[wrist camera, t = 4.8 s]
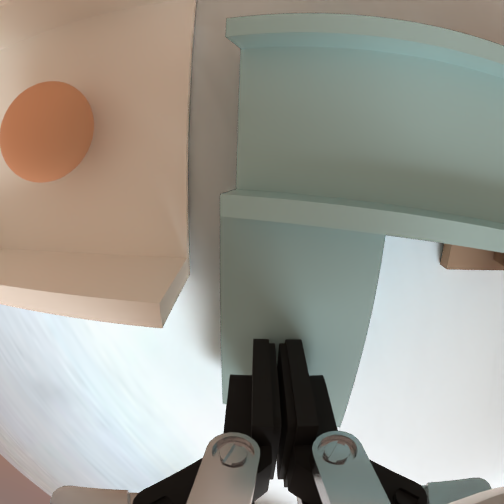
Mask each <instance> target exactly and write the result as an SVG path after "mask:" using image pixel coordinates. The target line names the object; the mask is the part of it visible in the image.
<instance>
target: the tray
mask: <svg viewBox="0 0 504 504" xmlns="http://www.w3.org/2000/svg"><path fill="white" fill-rule="evenodd" d="M195 11H196V0H0V128H1V123H2V120H3V118H4V115H5V113H6V111H7V109H8V107H9V106H10V105H11V103H12V102H13V101H14V99H15V98H16V97H17V96H18V95H19V94H21V93H22V92H23V91H25V90H26V89H28V88H29V87H31V86H33V85H36V84H38V83H42V82H47V81H59V82H64V83H67V84H69V85H71V86H73V87H75V88H76V89H78V90H79V91H80V92H81V93H82V94H83V95H84V96H85V98H86V99H87V101H88V102H89V105H90V107H91V109H92V113H93V118H94V132H93V138H92V142H91V145H90V147H89V150H88V152H87V153H86V155H85V157H84V158H83V160H82V161H81V162H80V164H79V165H78V166H77V167H76V168H75V169H74V170H72V171H71V172H70V173H68V174H67V175H65V176H64V177H62V178H60V179H57V180H54V181H50V182H43V183H37V182H31V181H28V180H25V179H23V178H21V177H19V176H18V175H16V174H15V173H14V172H13V171H12V170H11V169H10V168H9V167H8V165H7V164H6V162H5V160H4V158H3V156H2V153H1V148H0V304H2V305H7V306H12V307H17V308H22V309H27V310H33V311H38V312H44V313H49V314H55V315H61V316H68V317H74V318H81V319H88V320H95V321H102V322H110V323H118V324H126V325H135V326H144V327H154V328H163V326H164V324H165V322H166V320H167V318H168V316H169V314H170V312H171V310H172V308H173V306H174V304H175V302H176V300H177V298H178V296H179V294H180V292H181V291H182V289H183V287H184V285H185V283H186V281H187V279H188V277H189V275H190V264H189V230H188V136H189V103H190V81H191V63H192V48H193V34H194V22H195Z"/></svg>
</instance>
